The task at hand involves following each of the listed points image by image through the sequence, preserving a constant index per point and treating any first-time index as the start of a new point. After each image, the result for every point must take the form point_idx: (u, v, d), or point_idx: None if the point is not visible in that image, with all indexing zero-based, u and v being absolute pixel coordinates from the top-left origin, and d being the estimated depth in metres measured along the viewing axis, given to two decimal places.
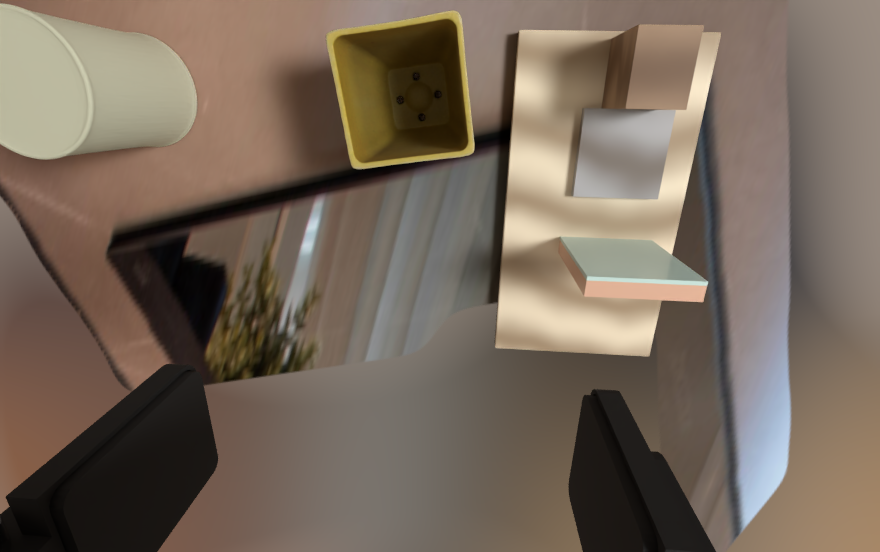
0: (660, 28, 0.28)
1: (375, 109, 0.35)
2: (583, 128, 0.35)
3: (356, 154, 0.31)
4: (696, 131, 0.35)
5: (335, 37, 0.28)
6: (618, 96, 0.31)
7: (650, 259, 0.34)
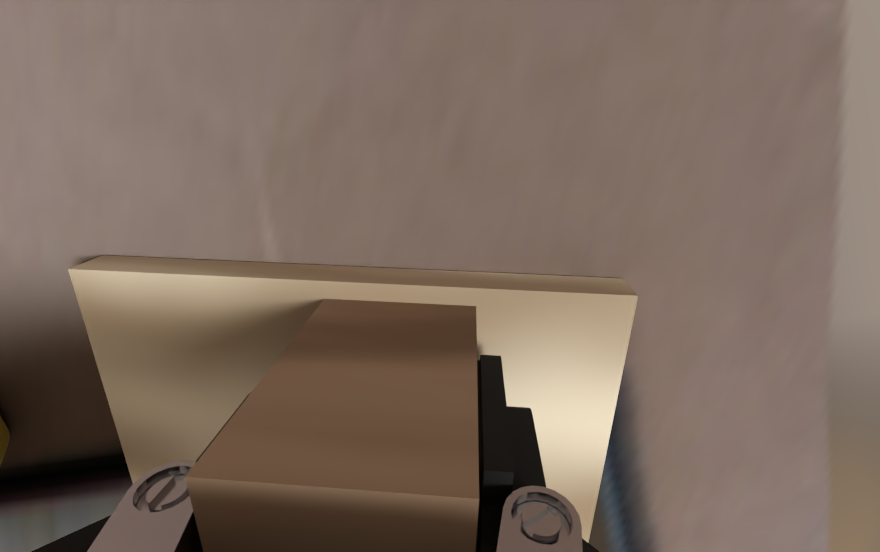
0: (284, 495, 0.06)
1: None
2: None
3: None
4: (588, 505, 0.13)
5: None
6: None
7: None
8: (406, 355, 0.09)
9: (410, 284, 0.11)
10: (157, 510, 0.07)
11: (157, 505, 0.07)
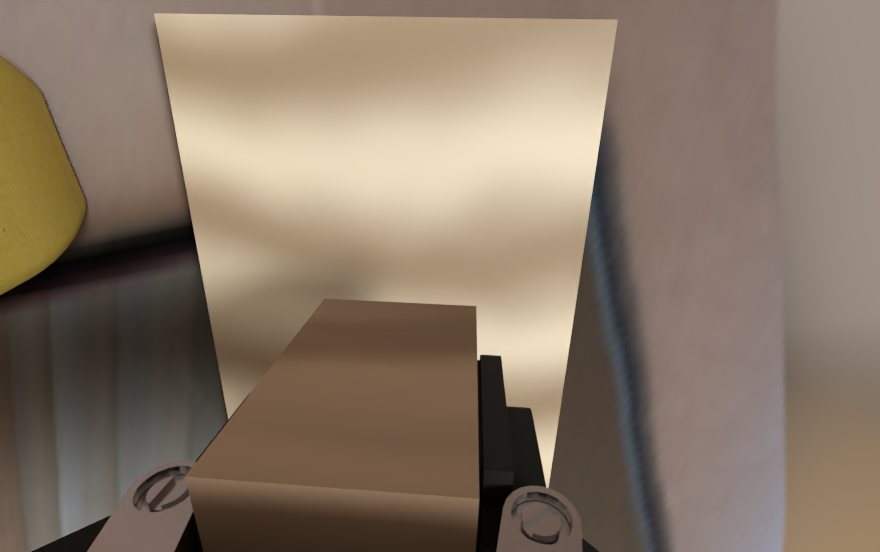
0: (284, 495, 0.06)
1: None
2: None
3: None
4: (579, 238, 0.16)
5: None
6: None
7: None
8: (406, 355, 0.09)
9: (434, 17, 0.14)
10: (157, 510, 0.07)
11: (157, 505, 0.07)
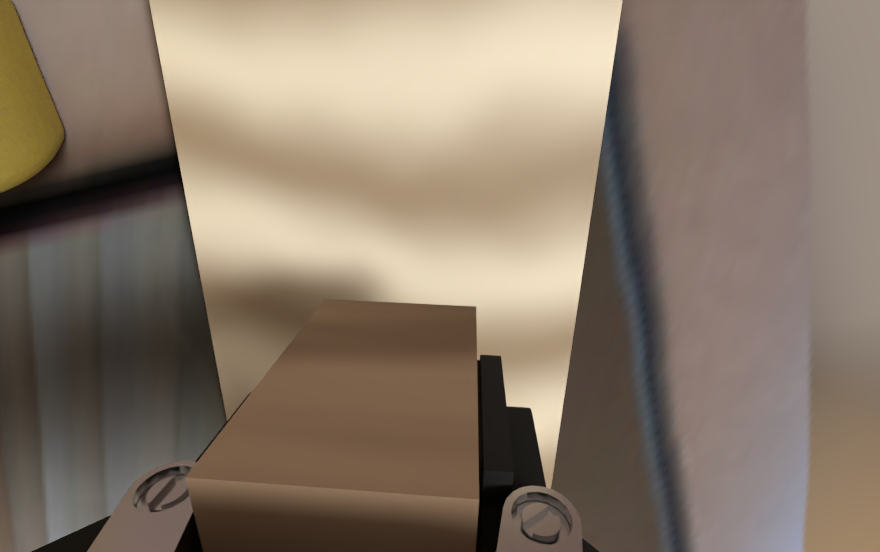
0: (284, 496, 0.06)
1: None
2: None
3: None
4: (592, 158, 0.15)
5: None
6: None
7: None
8: (406, 355, 0.09)
9: None
10: (157, 510, 0.07)
11: (157, 505, 0.07)
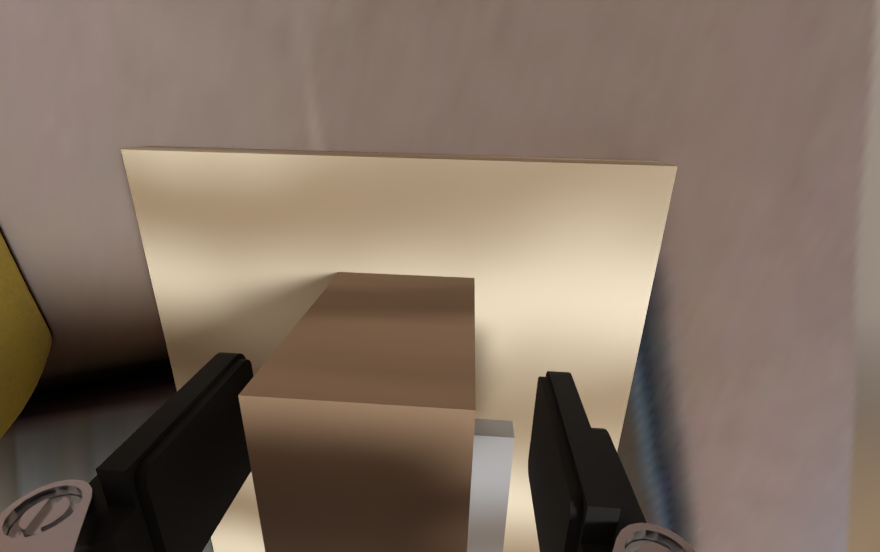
0: (318, 410, 0.07)
1: None
2: None
3: None
4: (622, 394, 0.14)
5: None
6: None
7: None
8: (413, 314, 0.10)
9: (455, 159, 0.12)
10: (34, 536, 0.07)
11: (36, 528, 0.07)
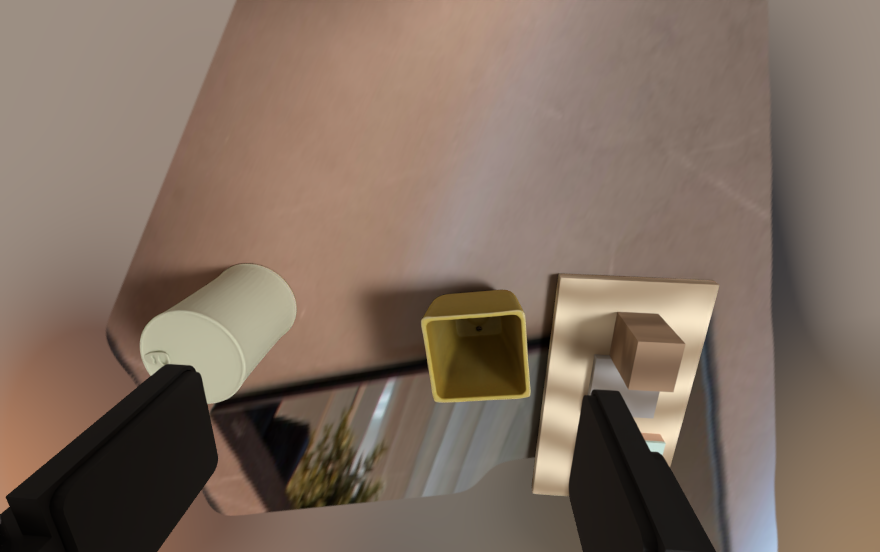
0: (654, 344, 0.38)
1: (445, 332, 0.44)
2: (595, 370, 0.45)
3: (437, 391, 0.40)
4: (699, 349, 0.44)
5: (428, 321, 0.37)
6: (622, 370, 0.41)
7: None
8: (653, 324, 0.41)
9: (658, 282, 0.42)
10: None
11: None
